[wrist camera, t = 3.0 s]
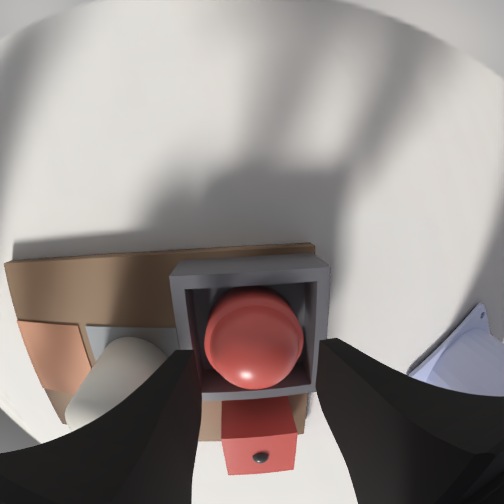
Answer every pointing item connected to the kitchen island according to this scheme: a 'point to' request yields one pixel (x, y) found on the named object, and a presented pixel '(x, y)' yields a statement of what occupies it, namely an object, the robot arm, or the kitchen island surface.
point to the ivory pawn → (113, 379)
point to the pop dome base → (251, 274)
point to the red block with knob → (258, 435)
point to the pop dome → (253, 337)
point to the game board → (110, 314)
